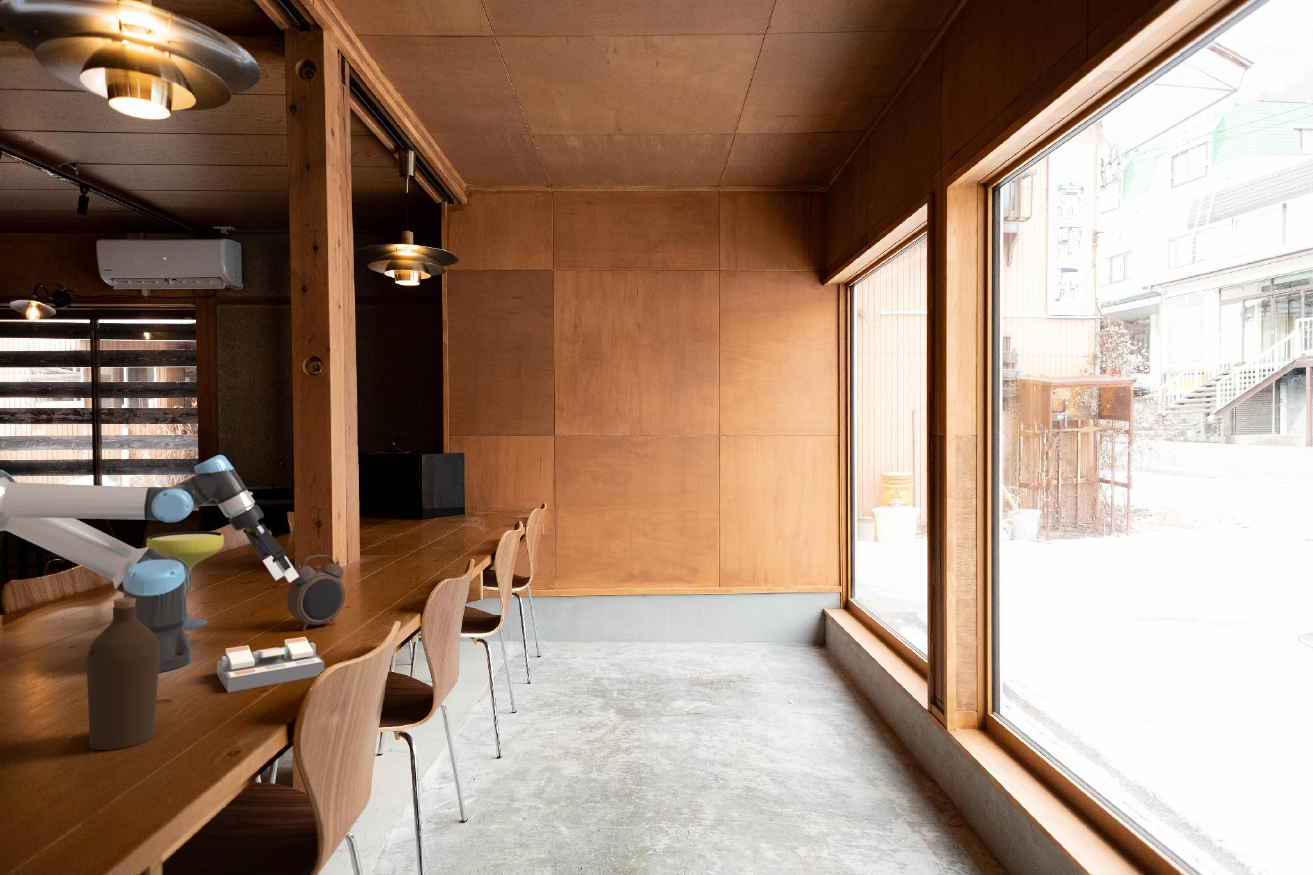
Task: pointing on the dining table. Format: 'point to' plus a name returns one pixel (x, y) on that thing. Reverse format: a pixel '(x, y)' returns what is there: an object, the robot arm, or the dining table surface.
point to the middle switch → (270, 652)
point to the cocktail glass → (188, 554)
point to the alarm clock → (316, 593)
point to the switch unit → (269, 670)
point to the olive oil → (122, 681)
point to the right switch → (298, 648)
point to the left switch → (240, 657)
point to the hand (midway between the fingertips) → (287, 578)
